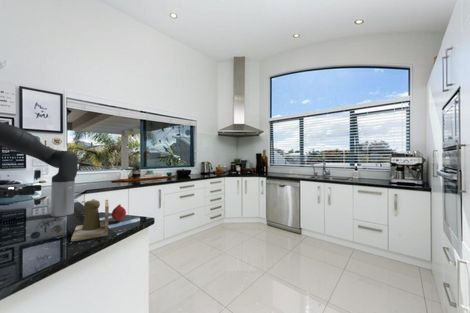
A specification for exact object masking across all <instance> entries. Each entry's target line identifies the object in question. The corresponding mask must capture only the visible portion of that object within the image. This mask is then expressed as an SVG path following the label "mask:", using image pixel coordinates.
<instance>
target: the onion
mask: <svg viewBox="0 0 470 313" xmlns="http://www.w3.org/2000/svg"><path fill="white" fill-rule="evenodd" d="M126 214H127V212H126V209H125V208H124V207H123V206H122V205H121V204H118V205H117V206H115V208H114V209H113V210H112V211H111V218H112V219H113V220H115V221H116V222H121V221H122V220H123V219H124V218H125V217H126Z"/></svg>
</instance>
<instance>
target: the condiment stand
mask: <svg viewBox="0 0 470 313" xmlns="http://www.w3.org/2000/svg"><path fill="white" fill-rule="evenodd" d="M104 203H105V206H104V222H100V228H98V229H95V230H89V231H84V230H82V227H83V224H82V225H76V227H75V229H74V231H73V234H72V235H71V240H70V241H71V242H76V241H84V240H89V239H96V238H100V237H101V238H102V237H107V236H109V208H110V207H109V206H110V205H109V199H105V202H104Z"/></svg>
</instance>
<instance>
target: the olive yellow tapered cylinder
mask: <svg viewBox="0 0 470 313" xmlns="http://www.w3.org/2000/svg"><path fill="white" fill-rule="evenodd" d="M100 206H101V204H100V201H99V200H95V199H93V200H87V201H85V202H84V204H83V207H84V209H85V212H84V217H83V223H82V225H83V227H82V230H84V231H89V230H95V229H98V228H100V223H101V222H100V214H99V213H100V212H99V208H100Z"/></svg>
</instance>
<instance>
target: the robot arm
mask: <svg viewBox="0 0 470 313" xmlns="http://www.w3.org/2000/svg"><path fill="white" fill-rule="evenodd" d="M0 146H2V147H5V148H7V149H9V150H12V151H15V152H18V153H20V154H23V155H25V156H28V157H31V158H35V159H36V160H37V159H38V161H41V162H42V163H45V164H46V165H48V166H51V167H52V168H56V169H58V172H57V173H56V174H55V175H53V176H52V177H51V186H50V187H51V188H50V189H51V192H50V216H51V217H52V218H53V217H56V218H57V217H65V216H71V215H73V214H74V213H75V187H76V186H75V184H76V182H75V180H76V179H75V178H76V177H77V175H78V166H79V159H78V155H77V154H76V152H74V151H72V150H59V149H54V148H52V147H49V146H47V145H45V144H43V143H42V142H41V140H39V139H38V137H37V136H35V135H33V134H32V133H30V132H28V131H27V130H25V129H22V128H20V127H18V126H15V125H12V124H9V123H5V122H3V121H0ZM42 188H43V187H42V185H41V184H33V185H29V184H25V183H24V184H3V185H2V184H0V199H13V198H17V197H20V196H31V195H33V196H34V195H35V194H36V192H41V191H42V190H43V189H42Z"/></svg>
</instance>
